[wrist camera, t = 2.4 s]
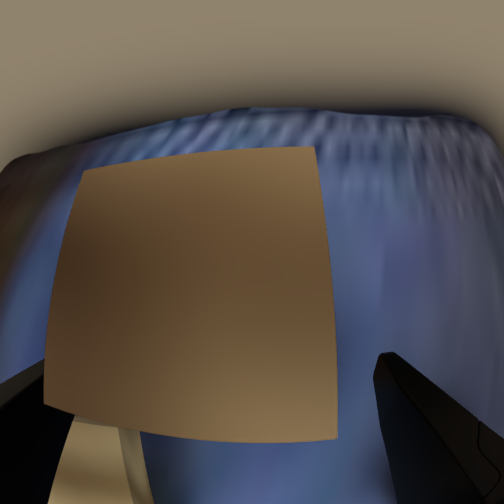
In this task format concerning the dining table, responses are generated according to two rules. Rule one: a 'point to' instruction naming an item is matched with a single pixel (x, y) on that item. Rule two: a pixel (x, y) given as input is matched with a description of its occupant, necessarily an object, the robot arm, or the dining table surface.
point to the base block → (101, 466)
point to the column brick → (198, 299)
